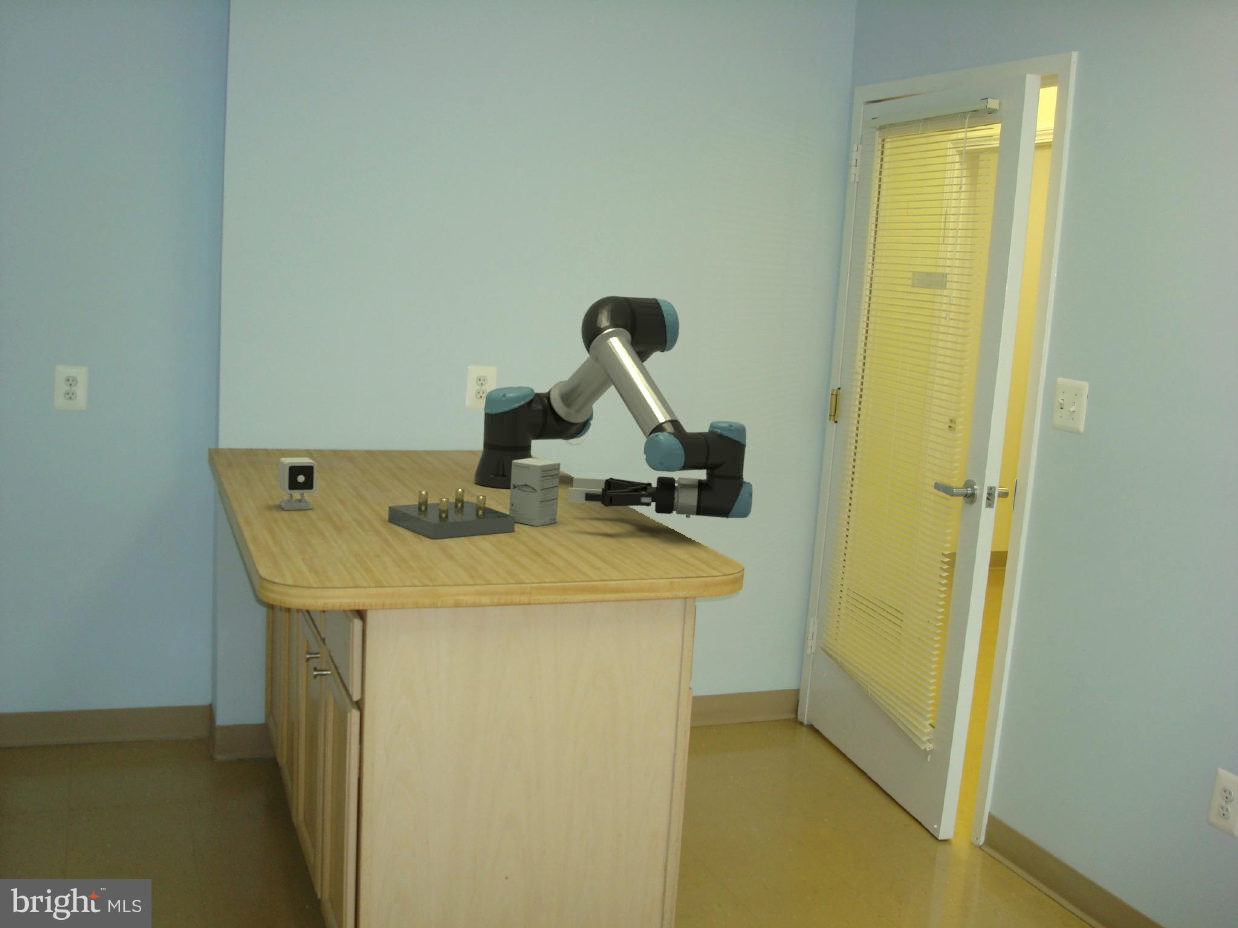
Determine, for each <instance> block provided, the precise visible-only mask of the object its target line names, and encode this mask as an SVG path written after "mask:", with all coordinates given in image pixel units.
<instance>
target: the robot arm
mask: <svg viewBox="0 0 1238 928" xmlns="http://www.w3.org/2000/svg"><path fill="white" fill-rule="evenodd" d="M580 328H581V330H580V332H581V339H582V344H583V345H584V348H585V351H586V352H587V354H588V355H589V356H588V357H587V358H586V359H585V360H584V361H583V362H582V364H580V365H579V367H578V368H577V369H576V370H575V371H574V372H573V373H572V375H570V377H568V379H567V380H560V381H558V382H556V383H555V384H554V385H552V387H550V389H549V390H548V391H545V392H535V390H534V388H533V387H530V386H505V387H504V386H503V387H498V388H494V389H492V390H490V391H488V392H487V394H486V396H485V400H484V401H485V402H484V408H483V413H484V416H483V417H484V418H483V421H484V422H483V442H482V443H483V446H482V452H481V456H480V459H479V460H478V463H477V467H476V470H475V471H474V483H475V484H477V485H480V486H484V487H489V488H499V489H511V473H512V461H514V460H521V459H527V458H533V456H532V444H533V443H532V441H543V440H544V441H545V440H546V441H548V440H553V441H554V440H561V441H562V440H563V441H570V440H576V439H580V438H581V437H583V436H585V435H586V434H587V433H588V432H589V430H590V428H591V426H592V422H591V421H593V420H594V408H593V407H594V404H595V403H596V402H597V401H598V400H599V399H600V398H601V397H602V396H603V395H604V394H605V393H606V392H607V391H608V390H609V389H610V388H611V387H612V386H613V387H614V388H615V391H616V392H617V393H618V395H619V397H620V398H621V400H622V401H623V403H624V405H625V407H626V408H627V409H628V412H629V413H630V414H631V416H632V418H633V419H634V421H635V423H636V425H637V426H638V427H639V429H640V431H641V432H642V434H643V436H644V438H645V439H646V440H645V442H644V445H643V454H644V455H645V459H644V460H645V463H646V465H647V466H648V467H649V468H650V469H652V470H653V471H656V472H667V473H676V472H683V471H705V475H706V477H705V478H703V479H702V478H696V477H693V478H692V477H678V479H676V478H674V477H673V476H658V477H657V478H656V485H655V486H653V483H652V482H641V481H634V480H628V479H627V480H626V479H620V478H614V477H609V478H606V479H605V478H604V479H603V478H591V477H590V478H589V477H575V476H574V477H573V478H572V480H573V481H572V487H568V492H567V493H568V494H567V502H568V503H579V504H580V503H581V504H595V505H596V504H597V505H603V506H604V507H605V508H608V507H636V506H637V507H638V506H640V507H642V506H643V507H647V508H648V507H651V506H652V503H655V505H654V512H655V513H656V514H662V515H663V514H664V515H672V514H673V513H674V512H675V514H676V515H683V516H685V518H688V519H690V518H691V516H697V517H698V516H699V517H710V518H720V519H721V518H723V519H747V518H748V517H749V516H750V514H751V512H752V506H753V484H752V483H751V482H750V481H746V480H744V467H745V458H746V447H747V428H746V426H745V425H744V424H743V423H741V422H739V421H738V422H737V421H729V420H728V421H727V420H715V421H711V422H710V423H709V425H708V426H709V427H708V430H707V431H696V432H695V431H694V432H692V431H689V432H688V431H687V430H686V429H685V427H684V426H683V424H682V423H681V421H680V420H679V418H678V416H677V415H676V414H675V412H674V410H673V408H672V407H671V405H670V404H669V402H668V401H667V400H666V399H667V398H665V396H664V394H663V393H662V392H661V390H660V388H659V386H658V385H657V383H656V382H655V381H654V379H653V378H652V376H651V375H650V372H649V371H648V369H647V368H646V365H644V363H645V362H647V360H648V359H650V357H652V355H653V354H655V353H656V352H659V353H665V352H669V351H671V350H672V349H673V348H674V347H675V346H676V345H677V342H678V339H679V334H680V333H679V331H680V319H679V315H678V312H677V309H676V308H675V307H674V305H673V303H672V302H670V301H668V299H662V298H657V297H633V296H618V295H609V296H605V297H604V296H603V297H601V298H600V299H598V300H596V301H595V302H593V303H592V304H591V305H590V306H589V308H587V310H586V312H585V314H584V316H583V318H582V322H581V327H580Z"/></svg>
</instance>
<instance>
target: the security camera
mask: <svg viewBox="0 0 1238 928" xmlns="http://www.w3.org/2000/svg"><path fill="white" fill-rule="evenodd" d="M317 477H318V464H317V462H316V461H314V460H312V459H311V458H310V457H281V458H280V459H279V461H278V487H279V488H280V489H282V491H284V492H285V493H286V494H288V498H280V499H279V506H280V507H281V508H282V509H284V510H285V511H293V510H295V511H296V510H297V511H298V510H312V509H313V502H311V500H309V499H308V498H306V497H305V494H311V493H312V494H313V493H316V491H317V487H318V486H317V484H318V483H317V482H318V478H317ZM293 494H299V496H300V497H299V498H294V496H293Z"/></svg>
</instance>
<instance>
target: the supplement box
mask: <svg viewBox="0 0 1238 928" xmlns="http://www.w3.org/2000/svg"><path fill="white" fill-rule="evenodd" d="M560 469H561V462H559V461H558V462H557V461H552V460H547V459H546V460H545V459H541V458H533V457H532V458H527V459H521V460H514V461H512V473H511V488H510V491H509V492H510V494H509V511H508V512H509V513H508V514H509V515H512V516H515V523H521V524H525V525H529V526H534V527H541V526H545V525H549V524H554V523H557V520H558V519H557V518H558V517H557V516H558V507H559V506H558V505H559V504H558V503H559V486H560Z"/></svg>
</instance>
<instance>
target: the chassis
mask: <svg viewBox="0 0 1238 928" xmlns="http://www.w3.org/2000/svg"><path fill="white" fill-rule="evenodd" d="M454 490H455V491H454V501H450V498H448V497H440V498H439V500H438V502H432V503H431V502H430V503H428V502H429V491H427V490H418V499H417V500H418V503H417V504H415V503H413V504H403V505H389V506H388V511H387V512H388V514H387V516H388V518H387V519H388V520H387V521H388V522H389V523H391V524H394V525H396V526H399V527H401V528H404V529H407V530H409V531H412V532H414V533H416V534H418V535H422V536H423V537H426V538H428V539H431V540H439V539H440V540H441V539H449V538H459V537H460V538H463V537H471V536H472V537H474V536H483V535H494V534H504V533H515V529H516V528H515V526H516V522H515V516H512V515H509V513H506V512H502V511H500V510H496V509H494V508H491V507H487V506H486V501H487V497H486V496H487V495H483V494H481V495H476V499H475V500H476V502H473V501H470V500H465V488H458V487H457V488H455V489H454Z"/></svg>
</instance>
